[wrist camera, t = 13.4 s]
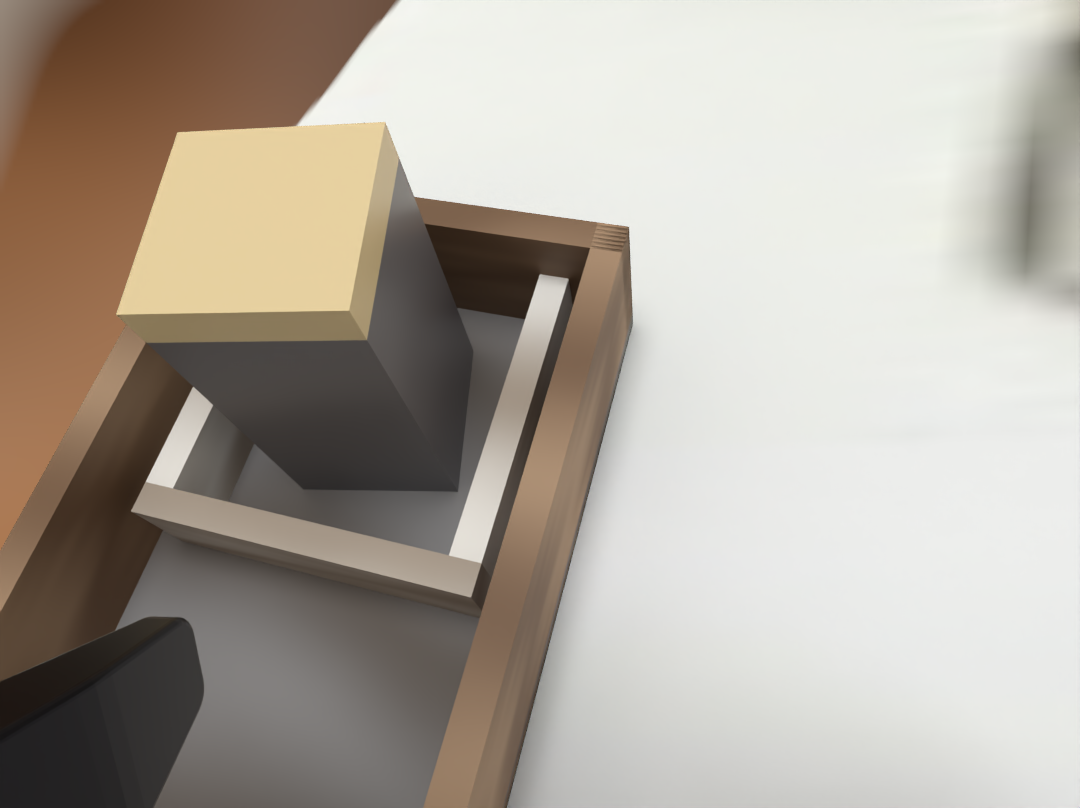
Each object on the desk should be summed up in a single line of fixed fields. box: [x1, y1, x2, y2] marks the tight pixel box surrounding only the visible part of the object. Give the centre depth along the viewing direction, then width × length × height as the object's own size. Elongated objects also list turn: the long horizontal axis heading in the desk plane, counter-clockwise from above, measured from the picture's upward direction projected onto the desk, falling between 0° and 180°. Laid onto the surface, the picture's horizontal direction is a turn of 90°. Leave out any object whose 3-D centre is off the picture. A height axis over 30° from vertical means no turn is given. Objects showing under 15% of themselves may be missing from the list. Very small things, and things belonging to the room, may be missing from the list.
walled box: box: [0, 197, 633, 808], centre depth 20 cm, size 20×12×4 cm, turn 165°
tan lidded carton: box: [116, 122, 473, 492], centre depth 20 cm, size 4×4×9 cm
